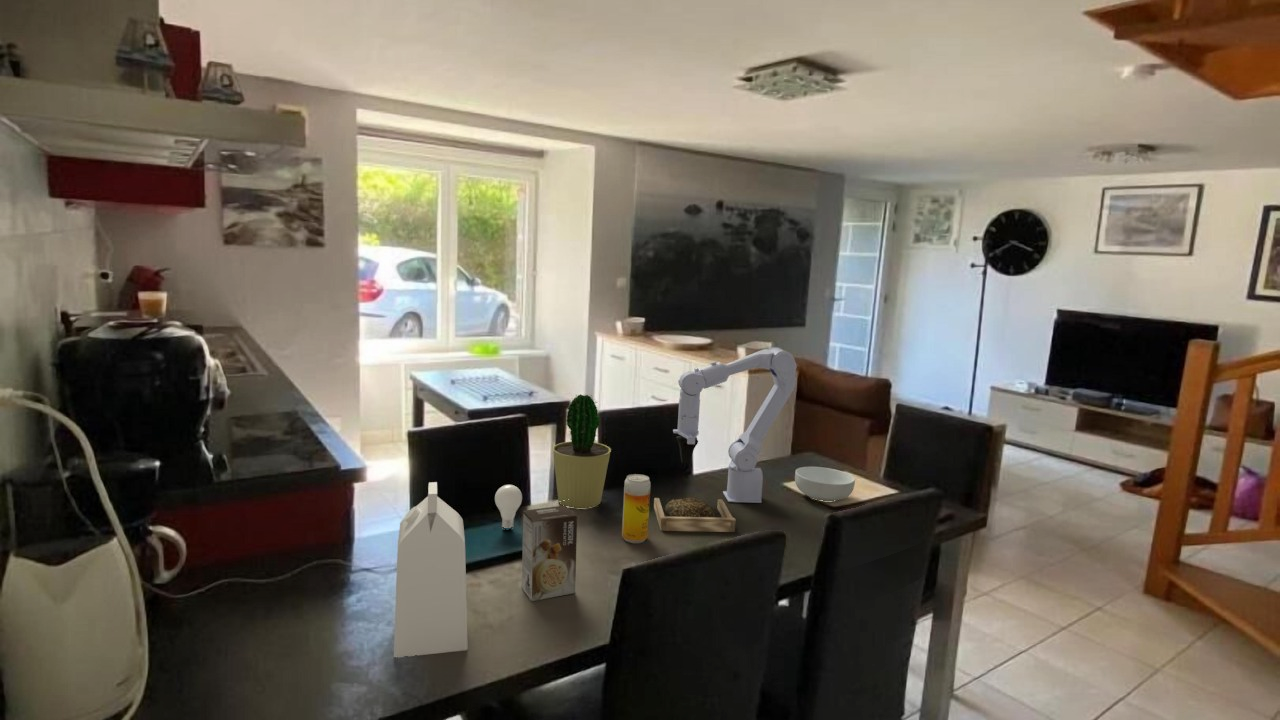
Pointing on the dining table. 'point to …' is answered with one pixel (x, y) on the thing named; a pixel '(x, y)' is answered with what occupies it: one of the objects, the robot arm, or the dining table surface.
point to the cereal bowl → (824, 483)
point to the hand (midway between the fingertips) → (685, 462)
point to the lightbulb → (508, 503)
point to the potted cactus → (581, 457)
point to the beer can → (636, 508)
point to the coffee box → (549, 552)
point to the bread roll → (688, 508)
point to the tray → (696, 520)
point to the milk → (430, 580)
